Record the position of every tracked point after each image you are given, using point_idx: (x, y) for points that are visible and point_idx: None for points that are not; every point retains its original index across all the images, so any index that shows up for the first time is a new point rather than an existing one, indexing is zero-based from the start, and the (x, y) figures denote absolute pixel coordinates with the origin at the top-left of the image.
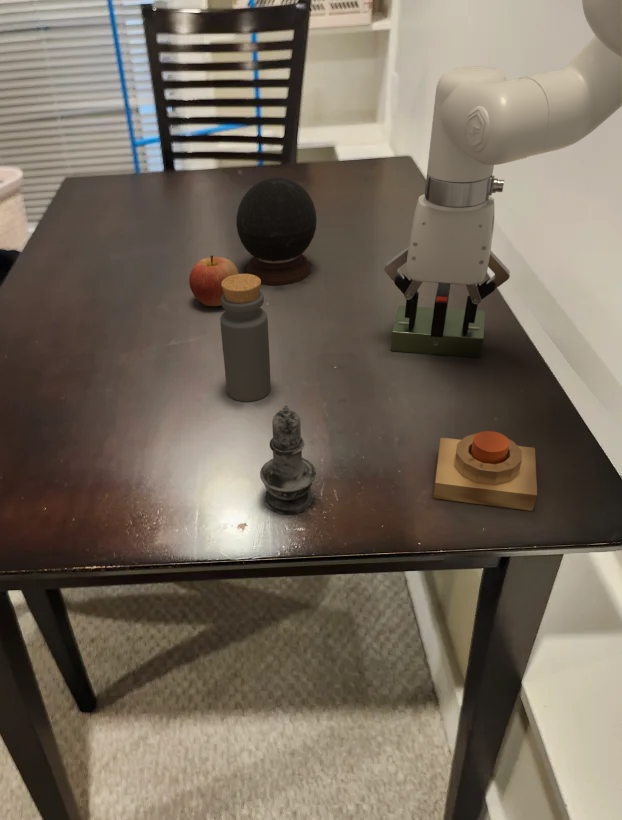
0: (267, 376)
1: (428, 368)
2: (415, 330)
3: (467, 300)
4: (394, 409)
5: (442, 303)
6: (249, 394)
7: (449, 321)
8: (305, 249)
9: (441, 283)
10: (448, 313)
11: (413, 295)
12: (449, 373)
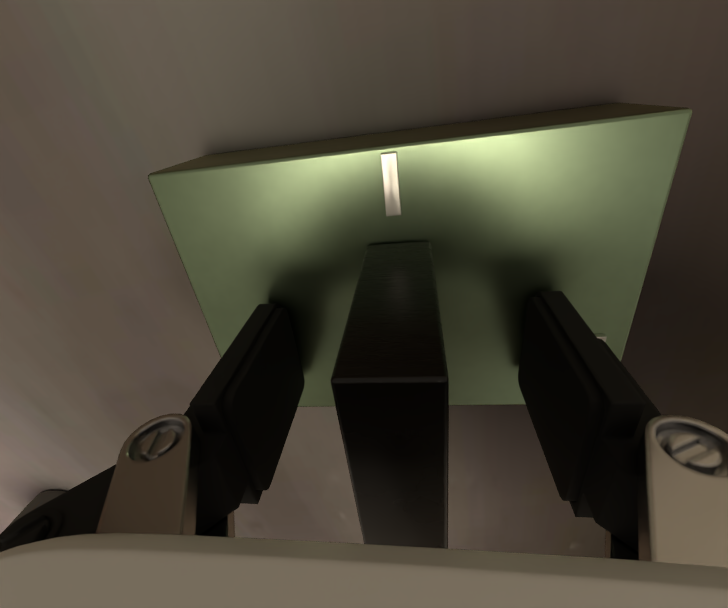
0: None
1: None
2: (319, 389)
3: (578, 464)
4: (361, 536)
5: None
6: None
7: (453, 298)
8: None
9: (365, 424)
10: (441, 209)
11: (231, 523)
12: (467, 427)
